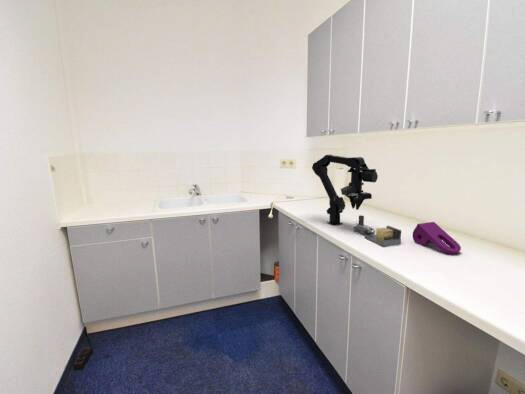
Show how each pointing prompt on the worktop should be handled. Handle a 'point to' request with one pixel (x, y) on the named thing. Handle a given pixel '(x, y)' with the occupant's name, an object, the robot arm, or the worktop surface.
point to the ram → (361, 225)
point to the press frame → (372, 237)
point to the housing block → (384, 234)
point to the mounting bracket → (435, 238)
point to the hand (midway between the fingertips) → (355, 209)
